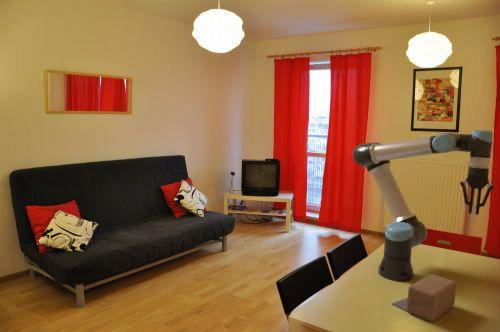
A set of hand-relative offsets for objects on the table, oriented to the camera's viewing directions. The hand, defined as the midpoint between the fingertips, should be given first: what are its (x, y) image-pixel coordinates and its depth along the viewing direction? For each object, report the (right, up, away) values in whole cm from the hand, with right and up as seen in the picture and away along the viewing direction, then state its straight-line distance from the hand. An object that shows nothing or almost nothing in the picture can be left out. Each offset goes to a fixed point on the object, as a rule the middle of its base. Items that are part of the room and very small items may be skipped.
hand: (472, 221), depth 173 cm
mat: (-30, -30, -19) cm, 46 cm away
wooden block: (-20, -24, -15) cm, 35 cm away
